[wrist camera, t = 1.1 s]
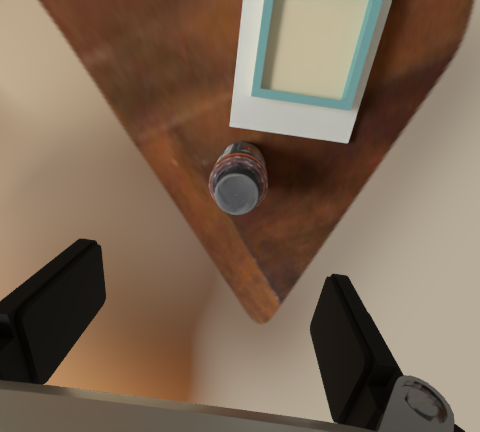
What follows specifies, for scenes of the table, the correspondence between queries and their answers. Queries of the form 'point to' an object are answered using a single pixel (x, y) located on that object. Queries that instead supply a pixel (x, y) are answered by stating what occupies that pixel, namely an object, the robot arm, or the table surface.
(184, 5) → the table surface
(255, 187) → the supplement bottle
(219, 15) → the table surface
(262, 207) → the table surface
